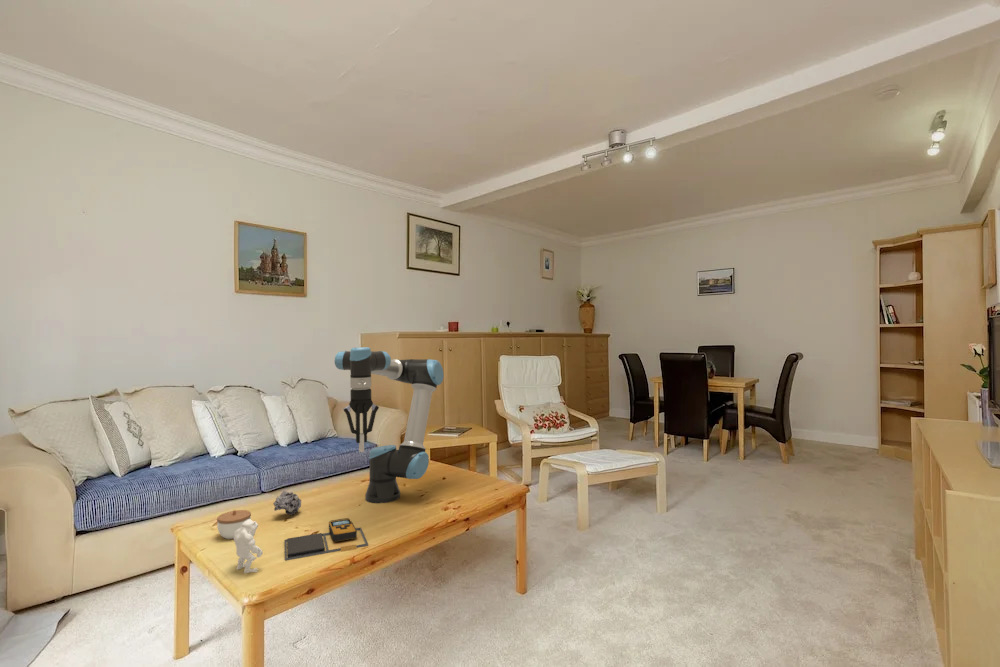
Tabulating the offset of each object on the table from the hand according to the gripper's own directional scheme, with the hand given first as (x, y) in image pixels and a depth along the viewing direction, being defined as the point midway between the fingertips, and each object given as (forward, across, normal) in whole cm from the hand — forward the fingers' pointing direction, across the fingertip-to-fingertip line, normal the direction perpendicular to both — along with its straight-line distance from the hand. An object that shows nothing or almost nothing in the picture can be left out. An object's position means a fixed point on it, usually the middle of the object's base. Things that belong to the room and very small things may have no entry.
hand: (361, 451), depth 179 cm
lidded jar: (+29, -43, +13) cm, 54 cm away
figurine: (+29, -38, -18) cm, 50 cm away
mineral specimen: (+30, -25, +26) cm, 47 cm away
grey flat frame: (+29, -14, -9) cm, 33 cm away
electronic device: (+30, -8, -10) cm, 33 cm away
